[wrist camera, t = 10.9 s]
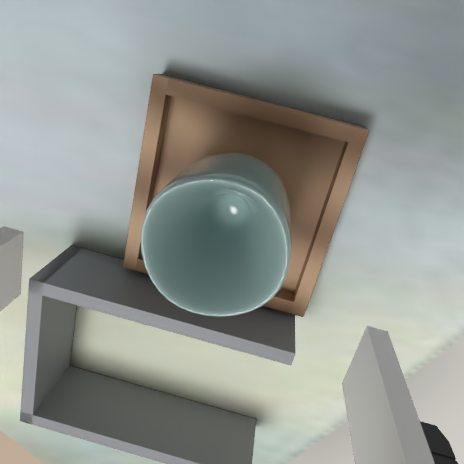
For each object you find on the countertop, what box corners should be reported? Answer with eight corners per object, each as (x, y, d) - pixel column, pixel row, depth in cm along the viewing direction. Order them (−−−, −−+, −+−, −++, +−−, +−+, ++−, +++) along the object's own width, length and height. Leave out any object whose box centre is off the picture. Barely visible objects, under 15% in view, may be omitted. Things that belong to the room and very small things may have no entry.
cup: (289, 137, 29) (288, 170, 20) (293, 245, 31) (294, 319, 22) (177, 145, 30) (125, 180, 21) (190, 248, 33) (150, 319, 23)
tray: (162, 73, 29) (153, 74, 27) (364, 126, 29) (369, 130, 27) (131, 256, 34) (122, 266, 32) (302, 303, 34) (303, 316, 32)
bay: (71, 245, 35) (29, 279, 29) (294, 307, 34) (295, 353, 28) (58, 371, 39) (19, 420, 34) (253, 427, 39) (247, 487, 33)
